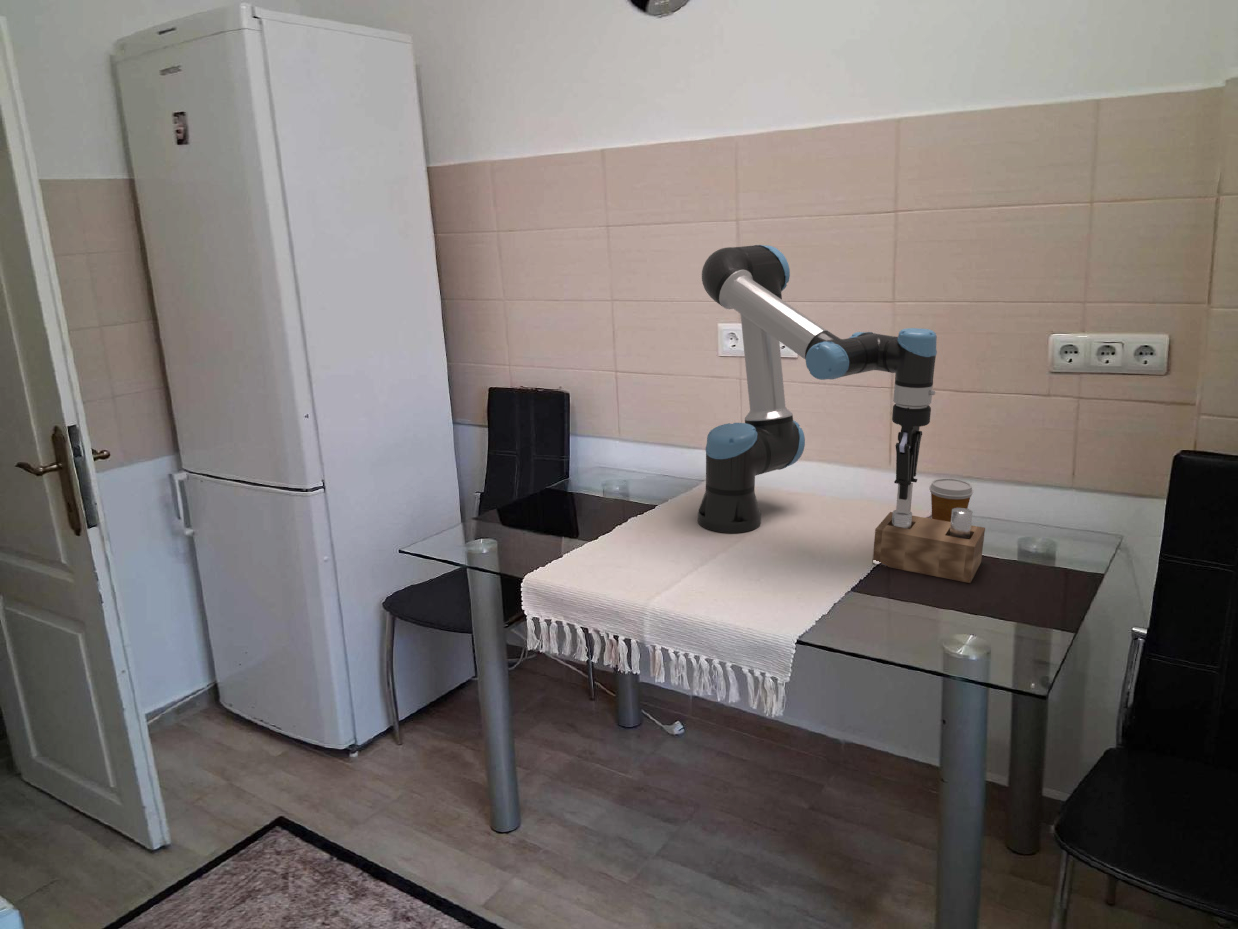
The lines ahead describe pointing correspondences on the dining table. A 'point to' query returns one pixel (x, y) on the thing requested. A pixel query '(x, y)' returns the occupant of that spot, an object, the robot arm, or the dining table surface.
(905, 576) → the dining table surface
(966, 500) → the disposable coffee cup
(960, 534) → the pin
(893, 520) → the pin
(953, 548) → the socket block
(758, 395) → the robot arm
